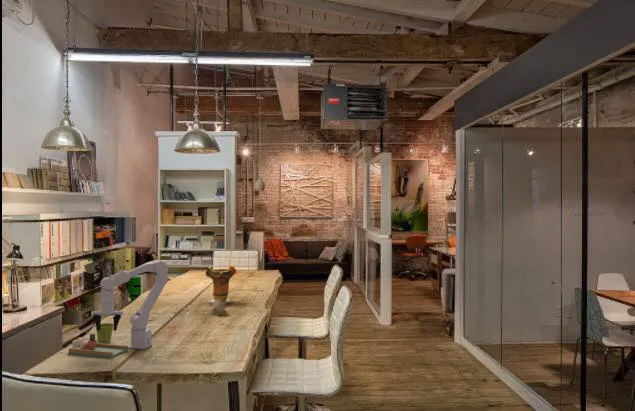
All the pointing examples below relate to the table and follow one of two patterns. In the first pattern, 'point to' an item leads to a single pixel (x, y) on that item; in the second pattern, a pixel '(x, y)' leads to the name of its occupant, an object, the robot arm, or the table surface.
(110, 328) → the plant pot
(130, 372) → the table surface
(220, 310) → the ceramic model
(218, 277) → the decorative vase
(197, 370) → the table surface
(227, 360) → the table surface
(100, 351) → the pitch
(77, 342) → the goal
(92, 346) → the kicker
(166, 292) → the table surface
